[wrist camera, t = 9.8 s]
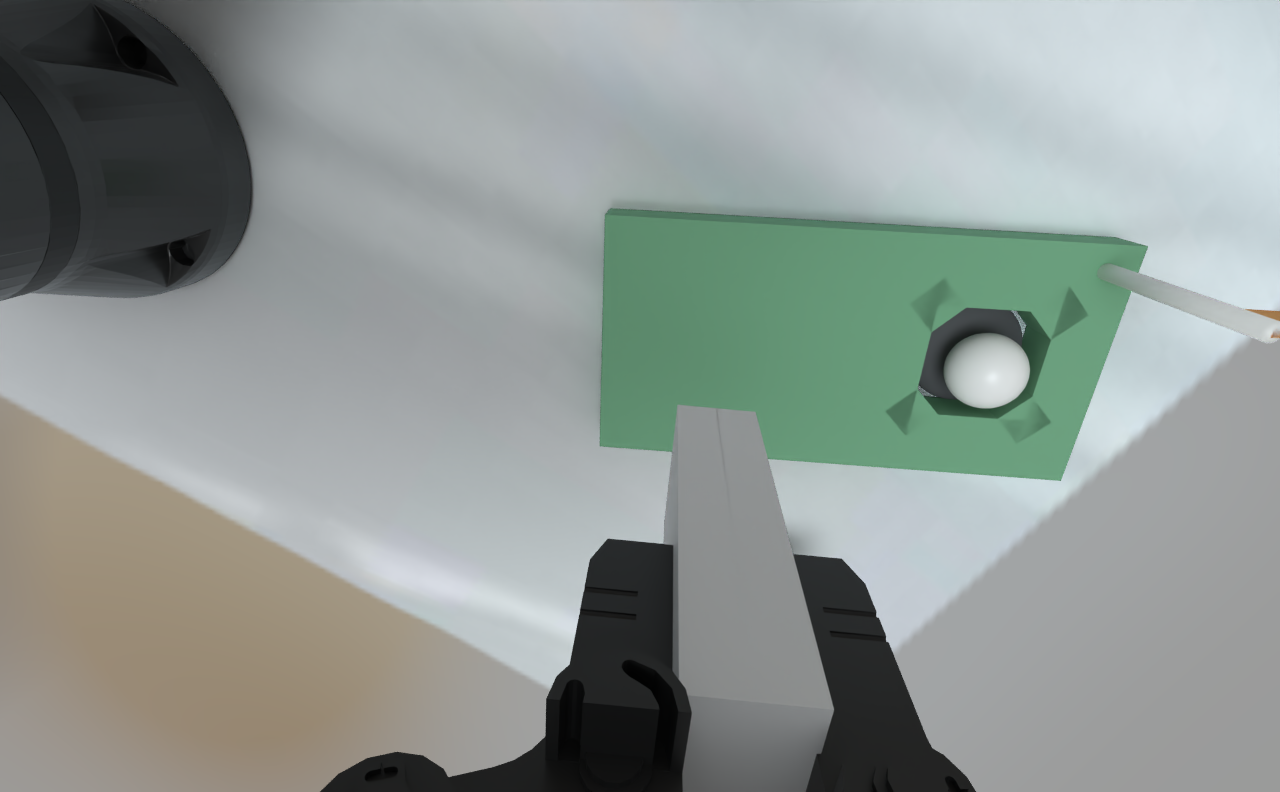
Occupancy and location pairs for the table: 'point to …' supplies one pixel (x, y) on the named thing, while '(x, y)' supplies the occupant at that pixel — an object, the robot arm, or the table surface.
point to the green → (865, 335)
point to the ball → (986, 370)
